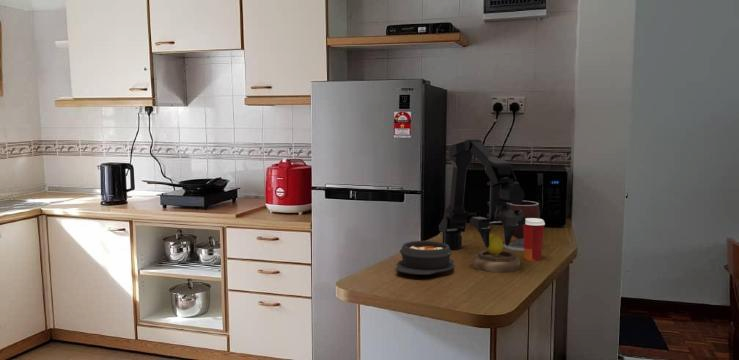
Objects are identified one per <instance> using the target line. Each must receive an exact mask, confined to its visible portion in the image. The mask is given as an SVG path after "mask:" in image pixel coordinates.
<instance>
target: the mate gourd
mask: <svg viewBox="0 0 739 360" xmlns="http://www.w3.org/2000/svg"><path fill="white" fill-rule="evenodd" d="M507 203H508V202H507ZM508 204H510V209H511V210H514V211H515V210H521V211H522V213H523V216H524V217H525V219H526V218H537V219H541V218H540V217H541V212H540V205H539V204H540V203H539V202H536V201H532V200H531V201H530V200H523V201H522V202H521V203H520V204H512V203H508ZM520 226H521V227H519V228H517V229H516V230H515V231H514V233H513V235H512V237H514V238H515V241H513V242H512V241H510V243H509V245H508V246H506V245H505V243H503V249H506V250H511V251H515V252H516V251H519V252H524V227H523V225H520ZM502 228H503V229H504V224H503V223H502Z"/></svg>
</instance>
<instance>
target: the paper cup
mask: <svg viewBox="0 0 739 360" xmlns="http://www.w3.org/2000/svg"><path fill="white" fill-rule="evenodd" d="M545 225H546V223H545V220H544V219H542V218H540V219H537V218H526V224H525V225H523V227H524V238H523V239H524V251H523V255H524V256H523V257H524V258H523V259H524V260H526V261H528V262H529V261H530V262H531V261H532V262H539V261H541V259H542V252H543V244H544V243H543V242H544V234H545V233H544V232H545Z"/></svg>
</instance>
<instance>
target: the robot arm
mask: <svg viewBox="0 0 739 360" xmlns="http://www.w3.org/2000/svg"><path fill="white" fill-rule="evenodd" d="M448 153H449V157H448V158H449V159H448V160H449V162H450V163H451V165H452V175H451V176H452V177H451V186H450V188H451V189H450V197H449V198H450V199H449V205H448V206H447V207H446V208H445V210H444V213H443V217H442V219H441V221H440V223H439V224H438V230H439V232H440V233H442V242H441V243H445V244H447V245H449V247H450V250H451V251H454V250H455V251H456V250H459V249H462V248H464V246H463V235H462V233H465V231H466V229H467V224H468V212H467V211H466V210H465V208H464V201H465V200H464V199H465V190H466V189H465V188H466V180H467V179H466V178H467V170H468V168H469V166H470V164H471V163H472V162H473V159H474V158H476V159H477V160H478V161H479V162H480V164H481V165H483V167H484V173H485V174H486V176H487V177H488V178H489V181H487V183H486V185H487V186H489V201H487V202H486V203H487V204H486V205H487V206H488V207H489V211H488V212H489V213H487V214H486V217H484V216H483V217H482V216H472V217H471V218H470V219H469V226H470V227H473V228H475V229H477V230H478V233H479V235H480V236H481V239H482V241H483V244H484V246H485V248H486V249H487V248H488V247H489V235H490V234H491V233H490V232H491V230H492V228H491V227H490V225H497V224H499V225H500V224H502V225H503V224H504V228H503V233H504V244H505V245H506V246H508V245H509V243H510V242H511V240H512V237H513V236H512V235H513V233H514V231H515V230H516V229H517V228H519V227H521V226H520V225H525V224H526V219H525V217H524V216H523V213H522V211H521V210H515V211H514V210H511V209H510V204H508V203H512V204H520V203H521V202H522V201H524V199H525V191H524V189H523V188H522V187H521V186H520V182H518V180H517V176H516V175H515V173H514V171H513V167H512V165H511V164H510V162H509V161H507V160H505V159H503V158H500V157H497V156H496V155H495V154H494V153H493V152H492V151H490V150H489V149H488V148H487V146H485V145H484V144H483V143H482V140H481V139H479V138H467V139H465V140H464V141H462V142H458V143H453V144H452V145H451V146H450V147H449V149H448ZM473 157H474V158H473ZM507 202H508V203H507Z"/></svg>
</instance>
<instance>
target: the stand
mask: <svg viewBox="0 0 739 360" xmlns="http://www.w3.org/2000/svg"><path fill="white" fill-rule="evenodd" d="M520 264H521V259H520V256H519V257H518V256H517V255H516V254H515V253H514V252H512V251H511V252H510V251H505V250H502V252H501V253H499V254H498V256H495V255H493V254H491V253H489V251H488V250H487V249H485V250H482V251H479V252H477V254H475V255H473V267H474V268H475V269H477V270H479V271H480V270H481V271H485V272H491V273H513V272H516V271H518V270H520V268H521V265H520Z"/></svg>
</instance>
